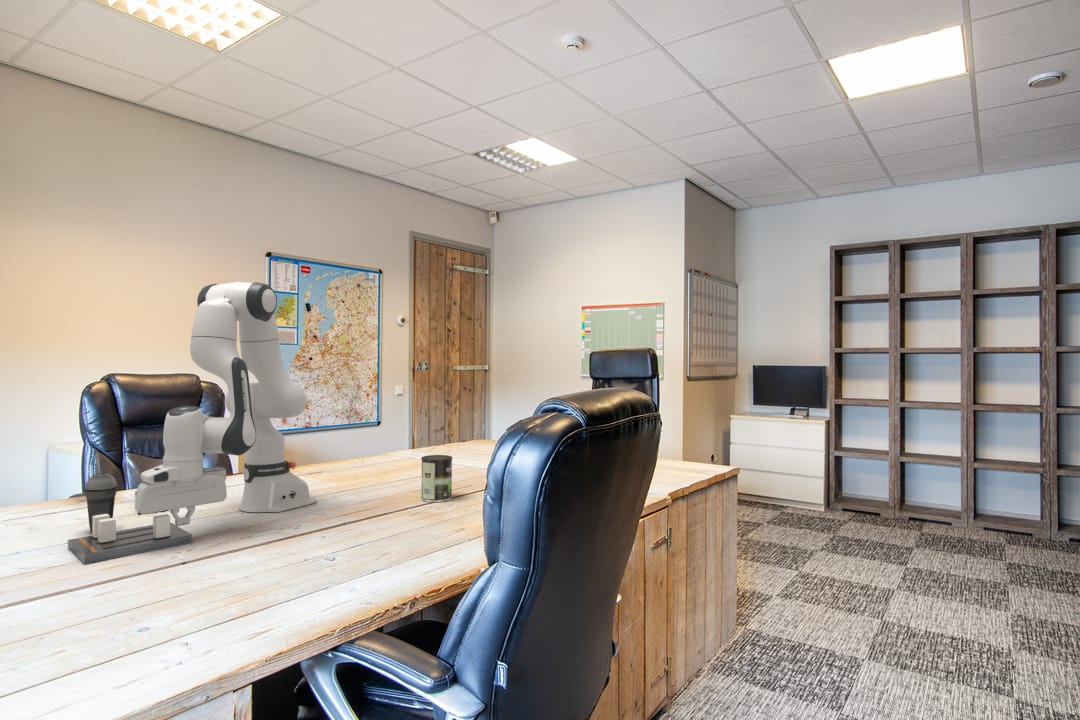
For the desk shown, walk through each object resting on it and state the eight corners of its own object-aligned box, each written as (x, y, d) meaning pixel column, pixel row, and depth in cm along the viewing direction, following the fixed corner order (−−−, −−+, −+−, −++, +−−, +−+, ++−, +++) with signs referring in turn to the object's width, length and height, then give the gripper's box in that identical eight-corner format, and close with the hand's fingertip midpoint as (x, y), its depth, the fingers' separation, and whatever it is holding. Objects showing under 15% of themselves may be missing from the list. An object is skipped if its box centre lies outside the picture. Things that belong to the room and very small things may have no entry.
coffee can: (454, 495, 204) (454, 454, 204) (449, 502, 193) (449, 459, 193) (424, 495, 204) (424, 454, 204) (417, 502, 194) (418, 459, 194)
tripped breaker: (166, 533, 149) (166, 514, 149) (170, 535, 148) (170, 515, 148) (153, 536, 147) (153, 516, 147) (156, 538, 145) (156, 518, 145)
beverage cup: (99, 536, 154) (100, 459, 154) (76, 534, 156) (77, 458, 156) (124, 528, 161) (124, 455, 161) (102, 526, 163) (102, 454, 163)
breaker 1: (106, 533, 149) (107, 513, 149) (109, 535, 147) (109, 515, 147) (92, 536, 147) (92, 516, 147) (94, 538, 145) (94, 517, 145)
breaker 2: (112, 538, 145) (113, 517, 145) (115, 540, 144) (115, 519, 144) (98, 540, 143) (98, 520, 143) (100, 542, 141) (100, 522, 141)
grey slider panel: (169, 529, 161) (169, 521, 161) (192, 542, 150) (192, 534, 150) (67, 548, 144) (67, 539, 144) (84, 564, 133) (84, 555, 133)
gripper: (221, 463, 161) (220, 514, 161) (133, 474, 145) (132, 530, 145) (231, 466, 156) (230, 519, 156) (141, 477, 141) (140, 535, 141)
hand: (182, 524), depth 151 cm, fingers closed
